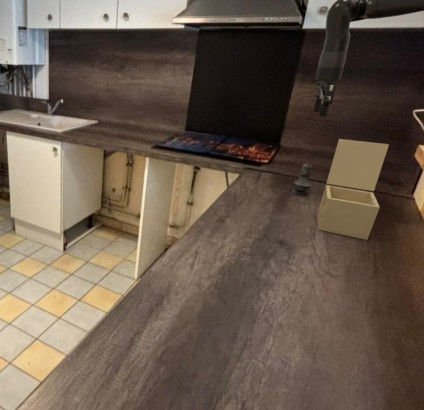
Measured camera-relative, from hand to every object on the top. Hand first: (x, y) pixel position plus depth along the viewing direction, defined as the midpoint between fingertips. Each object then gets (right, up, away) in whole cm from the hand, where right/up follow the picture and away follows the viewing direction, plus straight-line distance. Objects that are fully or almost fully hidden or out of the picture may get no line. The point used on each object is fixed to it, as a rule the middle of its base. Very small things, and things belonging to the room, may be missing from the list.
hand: (319, 113), depth 128 cm
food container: (+13, -28, +6) cm, 31 cm away
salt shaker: (-5, -28, +3) cm, 29 cm away
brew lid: (-4, -21, -23) cm, 31 cm away
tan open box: (-8, -39, -22) cm, 45 cm away
